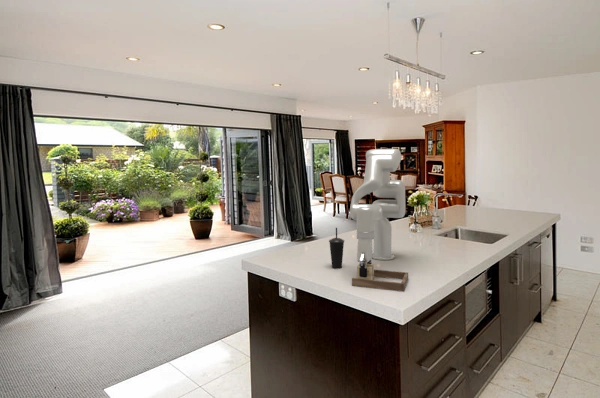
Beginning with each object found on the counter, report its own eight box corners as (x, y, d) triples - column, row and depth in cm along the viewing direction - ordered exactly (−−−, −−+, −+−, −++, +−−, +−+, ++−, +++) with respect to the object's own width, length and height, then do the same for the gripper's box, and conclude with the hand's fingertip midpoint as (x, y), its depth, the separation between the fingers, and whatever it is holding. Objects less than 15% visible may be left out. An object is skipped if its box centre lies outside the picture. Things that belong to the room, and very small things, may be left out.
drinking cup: (343, 264, 185) (342, 226, 183) (345, 269, 177) (345, 228, 175) (328, 265, 184) (327, 226, 182) (330, 269, 177) (329, 229, 175)
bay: (361, 274, 168) (360, 268, 168) (408, 279, 160) (408, 272, 160) (352, 285, 153) (352, 278, 153) (403, 291, 145) (403, 284, 145)
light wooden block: (360, 278, 163) (360, 262, 162) (373, 279, 161) (373, 264, 160) (357, 282, 158) (357, 266, 157) (371, 283, 155) (371, 267, 154)
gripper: (361, 231, 167) (361, 267, 168) (351, 238, 151) (352, 278, 152) (377, 231, 164) (377, 269, 165) (369, 239, 148) (370, 280, 149)
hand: (365, 273), depth 159 cm, fingers open, 8 cm apart
